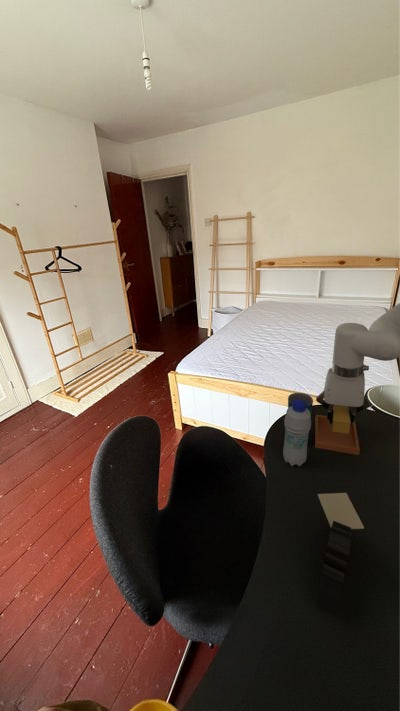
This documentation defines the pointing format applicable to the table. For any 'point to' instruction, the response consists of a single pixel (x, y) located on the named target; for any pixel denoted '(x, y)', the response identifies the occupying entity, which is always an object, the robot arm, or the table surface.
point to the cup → (303, 397)
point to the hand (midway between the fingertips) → (339, 421)
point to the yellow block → (341, 419)
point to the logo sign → (334, 569)
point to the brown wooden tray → (335, 437)
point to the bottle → (296, 433)
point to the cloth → (340, 510)
